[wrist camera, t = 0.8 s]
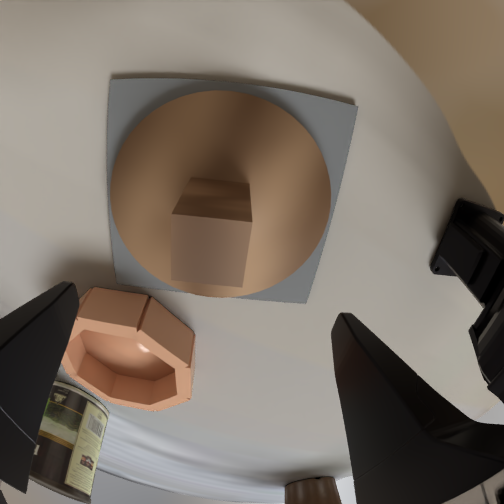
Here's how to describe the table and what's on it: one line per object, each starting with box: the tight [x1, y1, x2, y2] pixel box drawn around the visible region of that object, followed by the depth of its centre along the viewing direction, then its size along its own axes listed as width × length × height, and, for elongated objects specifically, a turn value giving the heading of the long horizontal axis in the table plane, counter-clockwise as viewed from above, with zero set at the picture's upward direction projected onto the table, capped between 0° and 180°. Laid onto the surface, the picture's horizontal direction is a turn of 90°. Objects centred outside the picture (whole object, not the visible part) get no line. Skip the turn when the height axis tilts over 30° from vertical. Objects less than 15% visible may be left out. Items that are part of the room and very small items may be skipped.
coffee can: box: [29, 381, 109, 504], centre depth 25 cm, size 10×10×14 cm
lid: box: [110, 90, 331, 298], centre depth 15 cm, size 13×13×6 cm
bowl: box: [61, 287, 195, 411], centre depth 22 cm, size 12×12×4 cm
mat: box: [107, 78, 358, 304], centre depth 17 cm, size 14×14×1 cm
